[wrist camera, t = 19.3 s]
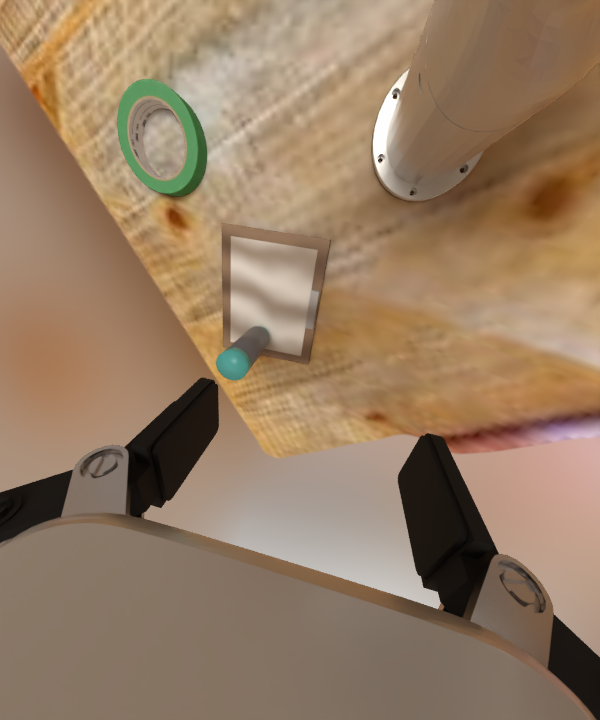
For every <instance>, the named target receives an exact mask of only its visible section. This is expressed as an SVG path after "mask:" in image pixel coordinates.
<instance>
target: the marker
mask: <svg viewBox="0 0 600 720" xmlns="http://www.w3.org/2000/svg"><path fill="white" fill-rule="evenodd" d="M268 343H269V333H268V331H267V330H266V329H265V328H264V327H260V326H259V327H258V326H254V327H251V328H250V329H249V330H248V331H246V332H245V333H244V334H243V335H242V336H241V337H240V338H239V339H238V340H236V341H235V342H234V343H233V344H232V345H231V346H230V347H229V348H227V349H226V350H225V351H224V352H222V353H221V354H220V355H219V356H218V358H217V361H216V365H217V369H218V371H219V372H220V373H221V375H223V376H224V377H225V378H227V379H230V380H240V379H242V378H243V377H244V376H245V375H246V374H247V372H248V371H249V369H250V368H251V366H252V365H253V364H254V362H255V361H256V360H257V358H258V357H259V356H260V354H261V353H262V352H263V350H264V349H265V348H266V346H267V345H268Z"/></svg>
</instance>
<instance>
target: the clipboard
mask: <svg viewBox="0 0 600 720" xmlns="http://www.w3.org/2000/svg"><path fill="white" fill-rule="evenodd" d="M330 241H331V240H327V239H321V238H314V237H308V236H302V235H295V234H289V233H283V232H276V231H270V230H264V229H257V228H251V227H245V226H238V225H232V224H226V223H222V290H223V347H225V348H229V347H230V346H231V345H232V344H233V343H234V342H235V341H236V340H238V339H239V338H240V337H241V336H242V335H243V334H244V333H245V332H246V331H248V330H249V329H250V328H251V327H254V326H258V327H259V326H260V327H264V328H265V329H266V330H267V331H268V333H269V343H268V345H267V346H266V348H265V349H264V350H263V352H262V353H261V354H260V355H263V356H268V357H273V358H278V359H283V360H288V361H293V362H297V363H302V364H307V365H308V363H309V358H310V352H311V347H312V341H313V335H314V330H315V324H316V319H317V313H318V308H319V302H320V296H321V291H322V285H323V280H324V274H325V269H326V263H327V257H328V252H329V246H330Z"/></svg>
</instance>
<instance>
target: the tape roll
mask: <svg viewBox="0 0 600 720" xmlns="http://www.w3.org/2000/svg"><path fill="white" fill-rule="evenodd" d="M158 109H169V110H171V111H172V112H173V113H174V115H175V116H176V118H177V119H178V121H179V123H180V125H181V128H182V131H183V135H184V139H185V157H184V161H183V164H182V166H181V168H180V170H179V171H178V172H177V173H176V174H175V175H173V176H171V177H168V178H161V177H160V176H159V175H158V174H157V173H156V172H155V171H154V170H153V168H152V167H151V165H150V163H149V161H148V159H147V157H146V154H145V151H144V146H143V129H144V125H145V122H146V120H147V118H148V117H149V115H150V114H151V113H152V112H154V111H155V110H158ZM117 127H118V136H119V141H120V145H121V148H122V151H123V154H124V156H125V158H126V160H127V162H128V164H129V166H130V168H131V169H132V171H133V172H134V173H135V175H136V176H137V177H138V178H139V179H140V180H141V181H142V182H143V183H144V184H145V185H146V186H148V187H149V188H151V189H153V190H155V191H157V192H160V193H163V194H167V195H170V196H184V195H187V194H189V193H191V192H192V191H193V190H194V189H195V188H196V187H197V186H198V185H199V183H200V182H201V180H202V178H203V175H204V172H205V168H206V162H207V147H206V140H205V136H204V132H203V129H202V127H201V124H200V122H199V120H198V118H197V116H196V114H195V113H194V111H193V110H192V108H191V107H190V106H189V105H188V104H187V103H186V102H185V101H184V100H183V99H182V98H181V97H180V96H179V95H178V94H177V93H175V92H174V91H173V90H172V89H171V88H169V87H168V86H167V85H165V84H163V83H162V82H159V81H156V80H153V79H143V80H139V81H136V82H135V83H133V84H132V85H130V87H128V89H127V90H126V91H125V93H124V94H123V97H122V99H121V101H120V105H119V110H118V118H117Z"/></svg>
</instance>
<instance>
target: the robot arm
mask: <svg viewBox="0 0 600 720" xmlns="http://www.w3.org/2000/svg"><path fill="white" fill-rule="evenodd" d="M599 61H600V0H435V1H434V4H433V6H432V9H431V12H430V14H429V17H428V20H427V23H426V25H425V28H424V31H423V33H422V36H421V39H420V42H419V44H418V47H417V50H416V52H415V55H414V58H413V61H412V63H411V66H410V67H409V68H408V69H407V70H406V71H405V72H404V73H403V74H402V75H401V76H400V77H399V78H398V80H397V81H396V82H395V83H394V84H393V86H392V87H391V89H390V91H389V92H388V94H387V96H386V97H385V99H384V101H383V103H382V106H381V108H380V110H379V113H378V116H377V119H376V122H375V126H374V131H373V136H372V160H373V165H374V169H375V172H376V174H377V177H378V179H379V181H380V182H381V184H382V185H383V186H384V188H385V189H386V190H387V191H388V192H390V193H391V194H392V195H393V196H395V197H398V198H400V199H402V200H406V201H425V200H429V199H433V198H435V197H437V196H440V195H442V194H444V193H445V192H447V191H449V190H451V189H452V188H453V187H454V186H456V185H457V184H458V183H460V182H461V181H462V180H463V179H464V178H465V177H466V176H467V175H468V174H469V173H470V172H471V170H472V169H473V168H474V166H475V165H476V164H477V162H478V161H479V160H480V158H481V156H482V154H483V152H484V151H485V149H486V148H488V147H489V146H490V145H492V144H493V143H495V142H496V141H498V140H499V139H501V138H502V137H503V136H505V135H506V134H508V133H509V132H511V131H512V130H514V129H515V128H516V127H518V126H519V125H521V124H522V123H524V122H525V121H527V120H528V119H530V118H531V117H532V116H534V115H535V114H537V113H538V112H539V111H541V110H542V109H544V108H545V107H546V106H548V105H549V104H551V103H552V102H554V101H555V100H556V99H558V98H559V97H560V96H562V95H563V94H564V93H566V92H567V91H568V90H569V89H570V88H572V87H573V86H574V85H575V84H576V83H578V82H579V81H580V80H581V79H582V78H583V77H584V76H585V75H586V74H587V73H588V72H589V71H590V70H591V69H592V68H593V67H594V66H595V65H596V64H597V63H598V62H599ZM393 96H397V99H393ZM378 159H382V162H381V163H379V162H378ZM460 169H462V170H463V172H462V173H460ZM411 191H413V196H411V195H410V192H411ZM218 413H219V412H218V385H217V384H215V381H214V380H210V379H206V378H200V379H199V380H198V381H197V382H196V383H195V384H194V385H193V386H191V388H189V389H188V390H187V391H186V392H185V393H184V394H183V395H182V396H181V397H180V398H179V399H178V400H177V401H174V402H173V403H172V404H170V405H169V406H168V407H167V408H166V409H165V410H164V411H163V412H162V413H161V414H160V415H159V416H157V417H156V418H155V419H154V420H153V421H152V422H151V423H150V424H149V425H148V426H147V427H146V428H145V429H143V430H142V431H141V432H140V433H139V434H138V435H137V436H136V437H135V438H134V439H133V440H132V441H131V442H130V443H129V444H127V445H126V446H125V447H122V446H119V445H110V446H104V447H101V448H98V449H95V450H94V451H92V452H90V453H88V454H87V455H85V456H84V457H83V458H81V459H80V461H79V462H78V463H77V464H76V466H75V468H74V470H70V471H67V472H64V473H61V474H58V475H54V476H51V477H48V478H46V479H42V480H39V481H36V482H32V483H29V484H26V485H23V486H20V487H16V488H14V489H10V490H7V491H4V492H1V493H0V720H600V657H599V656H598V655H597V654H595V653H594V652H593V651H592V650H591V649H590V648H589V647H588V646H587V645H586V644H585V643H584V642H583V641H582V640H580V638H578V637H577V636H576V635H575V634H574V633H573V632H572V631H571V630H570V629H569V628H568V627H567V626H566V625H565V624H564V623H563V622H561V621H560V620H559V619H558V618H557V617H556V616H555V615H554V613H553V605H552V602H551V600H550V597H549V595H548V593H547V592H546V590H545V588H544V587H543V585H542V584H541V582H540V581H539V580H538V579H537V578H536V576H535V575H534V574H533V573H532V572H531V571H530V570H528V568H527V567H525V566H524V565H523V564H522V563H520V562H519V561H517V560H516V559H514V558H512V557H510V556H508V555H503V554H499V553H498V551H497V549H496V547H495V545H494V542H493V541H492V538H491V536H490V534H489V532H488V530H487V528H486V526H485V524H484V522H483V520H482V517H481V515H480V513H479V511H478V509H477V507H476V505H475V503H474V501H473V499H472V496H471V494H470V492H469V490H468V488H467V486H466V484H465V482H464V480H463V478H462V476H461V474H460V471H459V469H458V467H457V465H456V463H455V461H454V459H453V457H452V455H451V453H450V450H449V448H448V446H447V444H446V442H445V440H444V438H443V437H441V436H437V435H433V434H429V433H427V434H425V436H421V437H420V438H419V440H418V442H417V444H416V445H415V447H414V449H413V450H412V452H411V454H410V456H409V457H408V459H407V461H406V462H405V464H404V466H403V467H402V469H401V471H400V473H399V475H398V484H399V490H400V494H401V499H402V504H403V509H404V514H405V519H406V524H407V529H408V534H409V538H410V543H411V548H412V553H413V558H414V563H415V567H416V571H417V574H418V575H419V576H421V578H422V583H423V587H424V588H427V589H431V590H433V591H437V592H438V594H439V598H440V602H441V604H440V606H439V608H438V609H435V608H433V607H430V606H427V605H424V604H421V603H418V602H414V601H412V600H408V599H406V598H403V597H399V596H396V595H393V594H390V593H387V592H383V591H380V590H377V589H374V588H371V587H368V586H365V585H361V584H358V583H355V582H352V581H349V580H345V579H342V578H339V577H336V576H333V575H330V574H326V573H323V572H320V571H316V570H313V569H310V568H307V567H303V566H300V565H297V564H294V563H290V562H288V561H284V560H281V559H278V558H274V557H271V556H268V555H265V554H261V553H258V552H255V551H252V550H248V549H245V548H242V547H239V546H235V545H232V544H229V543H225V542H222V541H219V540H215V539H212V538H209V537H206V536H202V535H199V534H196V533H192V532H189V531H186V530H182V529H179V528H175V527H171V526H168V525H164V524H161V523H157V522H154V521H150V520H146V519H144V512H146V511H147V509H148V508H149V507H150V505H153V506H156V507H159V508H161V507H162V506H163V505H164V503H165V502H166V500H168V501H169V500H171V499H172V498H173V496H174V495H175V493H176V492H177V491H178V489H179V488H180V486H181V484H182V483H183V482H184V480H185V479H186V477H187V476H188V474H189V473H190V471H191V470H192V468H193V467H194V465H195V464H196V462H197V461H198V460H199V458H200V456H201V455H202V454H203V452H204V451H205V449H206V448H207V446H208V445H209V443H210V442H211V440H212V439H213V437H214V436H215V434H216V433H217V431H218V427H219V414H218Z"/></svg>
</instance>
